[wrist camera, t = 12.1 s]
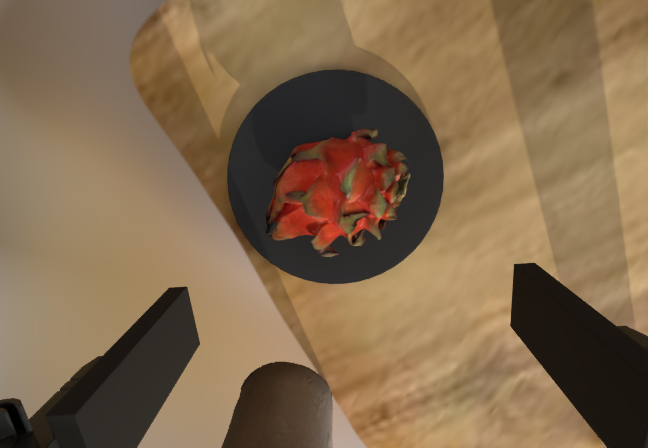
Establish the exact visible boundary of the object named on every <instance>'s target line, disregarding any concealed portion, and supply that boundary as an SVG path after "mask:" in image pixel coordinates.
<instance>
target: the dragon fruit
mask: <svg viewBox="0 0 648 448" xmlns="http://www.w3.org/2000/svg"><path fill="white" fill-rule="evenodd" d="M377 137H378V131H377V129H376V128H364V129H361V130H358V131H354V132H352V133H351V136H350V137H349V138H348V139H346V140H342V139H339V138H334V137H331V138H329V139H328V140H324V141H319V142H313V143H305V144H302V145H300V146H297V147H296V148H295V149H294V150H293V151H292V153H291V155H290V158H289V159H288V161H287V162H286V164H285V165H284V166H283V168H282V169H281V171H280V172H279V173H278V174H277V175H278V176H276V178H275V179H274V181H273V185H272V186H274V185H275V184H276V186H275V190H274V195H273V198H272V201H271V203H270V205H269V207H268V209H267V212H266V224H267V228H266V234H271V226H272V225H273V223H275V222H276V221H277V222H278V224H277V226H276V228H275V229H274V230H273V234H272V235H270V236H269V237H270V239H271V238H272V239H273V240H275V241H276V240H277V241H282V240H286V239H290V238H294V237H297V236H302V235H312V236H316V237H315V238H314V239H313V240H312V241H311V243H312V244H313V247H314V249H316V250H317V251H318V254H320V253H323V252H324V249H325V250H326V251H327V252H326V253H323V254H321V256H322V257H332V256H334V255H338V254H339V253H337V252H336V251H334V250H333V249H332V248H331V247H330V246H328V245H330V244H331V243H332V242H333V241H334V240H335V239H336V238H337V237H338V236H340V235H342V236H345V237H346V238H347V239H348V241H349V243H350V244H351V245H352V246H361V245H362V244H363V243H364V241H365V238H364V234H363V232H364V231H365V230H366V229H367V230H368V231H369V232H371V233H372V234H373V235H375V236H376V237H377V239H378V240H380V239H381V234H380V233H381V232H380V231H381V230H382V229H383V228H384V227H385V225H386V222H385V221H386V220H396V219H397V210H396V208H395V207H397V206H399V204H400V203H401V200H402V198H403V197H404V196H405V195H406V190H407V184H408V180H409V178H410V174H409V173H407V174H406V175H405V172H406V171H407V170H408V168H407V166H406V165H405V164H403V163H401V162H400V161H401V160H403V159H405V160H406V161H407V162H408V160H407V157H405V156H404V155H403V154H402V153H401V152H399V151H395V150H393V149H392V148H389V147H386V144H384V143H376V144H373V143H371V142H370V140H373V139H376V138H377ZM408 159H409V158H408ZM408 163H410V162H408ZM382 219H385V220H382ZM361 229H362V230H361ZM360 230H361V231H360ZM358 231H360V233H359V235H358V236H357V237H356V233H357V232H358ZM277 247H278V246H277ZM279 250H280V249H279Z"/></svg>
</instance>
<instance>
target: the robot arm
mask: <svg viewBox="0 0 648 448" xmlns="http://www.w3.org/2000/svg"><path fill="white" fill-rule="evenodd" d="M510 326H511V327H512V329H513V330H514V331H515V332H516V334H517V335H518V336H519V337H520V339H521V340H522V341H523V343H524V344H525V345H526V346H527V348H528V349H529V350H530V351H531V353H532V354H533V355H534V356H535V358H536V359H537V360H538V361H539V363H540V364H541V365H542V366H543V368H544V369H545V370H546V371H547V373H548V374H549V375H550V377H551V378H552V379H553V380H554V382H555V383H556V384H557V385H558V387H559V388H560V389H561V390H562V392H563V393H564V394H565V395H566V397H567V398H568V399H569V400H570V402H571V403H572V404H573V405H574V407H575V408H576V409H577V411H578V412H579V413H580V414H581V416H582V417H583V418H584V419H585V421H586V422H587V423H588V424H589V426H590V427H591V428H592V429H593V431H594V432H595V433H596V434H597V436H598V437H599V438H600V439H601V441H602V442H603V443H604V445H605V446H606V447H607V448H648V336H646V335H644V334H642V333H640V332H638V331H636V330H633V329H631V328H629V327H627V326H615V325H614V324H613V323H611V322H610V321H609V320H608V319H606V318H605V317H604V316H602V315H601V314H600V313H599V312H597V311H596V310H595V309H593V308H592V307H591V306H590V305H588V304H587V303H586V302H584V301H583V300H582V299H581V298H579V297H578V296H577V295H575V294H574V293H573V292H572V291H570V290H569V289H568V288H566V287H565V286H564V285H563V284H561V283H560V282H559V281H557V280H556V279H555V278H554V277H552V276H551V275H550V274H548V273H547V272H546V271H544V270H543V269H542V268H541V267H539V266H538V265H537V264H535V263H525V264H514V276H513V292H512V308H511V325H510ZM199 345H200V342H199V337H198V333H197V328H196V324H195V320H194V315H193V311H192V306H191V302H190V297H189V293H188V289H187V287H175V288H169V289H168V290H167V291H166V292H165V293H164V294H163V295H162V296H161V297H160V298H159V299H158V300H157V301H156V302H155V303H154V304H153V305H152V306H151V307H150V308H149V309H148V310H147V311H146V312H145V313H144V314H143V315H142V316H141V317H140V318H139V319H138V320H137V321H136V323H134V324H133V325H132V327H131V328H130V329H129V330H128V331H127V332H126V333H125V334H124V335H123V336H122V337H121V338H120V339H119V340H118V341H117V342H116V343H115V344H114V345H113V346H112V347H111V348H110V349H109V350H108V351H107V352H106V353H105V354H104V355H103V356H98V357H97V358H95V359H94V360H92V361H91V362H89V363H88V364H86V365H85V366H83V367H82V368H81V369H80V370H79V371H78V372H77V373H76V374H75V375H74V376H73V377H72V378H71V379H70V381H68V382H67V383H65V384H64V385H63V386H62V387H61V388H60V391H58V392H57V393H55V394H54V395H53V396H52V397H51V398H50V399H49V400H48V401H47V402H46V403H45V404H44V405H43V406H42V407H41V408H40V409H39V410H38V411H37V412H36V413H35V414H34V415H33V416H32V417H31V418H30V419H28V417H27V415H26V412H25V410H24V407H23V405H22V403H21V401H20V400H19V399H15V398H11V399H3V400H0V448H137V447H138V445H139V443H140V442H141V440H142V439H143V437H144V435H145V434H146V432H147V430H148V429H149V427H150V425H151V423H152V422H153V420H154V419H155V417H156V415H157V414H158V412H159V410H160V409H161V407H162V405H163V404H164V402H165V401H166V399H167V397H168V396H169V394H170V392H171V391H172V389H173V387H174V386H175V384H176V382H177V381H178V379H179V377H180V376H181V374H182V373H183V371H184V369H185V368H186V366H187V364H188V363H189V361H190V359H191V358H192V356H193V354H194V353H195V351H196V350H197V348H198V346H199Z"/></svg>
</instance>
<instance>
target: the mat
mask: <svg viewBox="0 0 648 448" xmlns="http://www.w3.org/2000/svg"><path fill="white" fill-rule="evenodd" d="M364 128H376V129H377V131H378V137H377V138H376V139H373V140H370V142H371V143H373V144H376V143H384V144H386V147H389V148H392V149H393V150H395V151H399V152H401V153H402V154H403V155H404V156H405V157H407V160H408V162H410V163H408V162H407V161H406V160H405V159H403V160H401V161H400V162H401V163H403V164H405V165H406V166H407V168H408V170H407V171H406V172H405V175H406V174H407V173H409V174H410V178H409V180H408V184H407V190H406V195H405V196H404V197H403V198H402V200H401V203H400V204H399V206H397V207H395V208H396V210H397V219H396V220H386V221H385V222H386V225H385V227H384V228H383V229H382V230H381V231H380V232H381V233H380V234H381V239H380V240H378V239H377V237H376V236H375V235H373V234H372V233H371V232H369V231H368V230H367V229H366V230H365V231H364V232H363V234H364V238H365V241H364V243H363V244H362V245H361V246H352V245H351V244H350V243H349V241H348V239H347V238H346V237H345V236H342V235H340V236H338V237H337V238H336V239H335V240H334V241H333V242H332V243H331V244H330V245H328V246H330V247H331V248H332V249H333V250H334V251H336V252H337V253H339V254H338V255H334V256H332V257H322V256H321V254H323V253H326V252H327V251H326V250H325V249H324V252H323V253H320V254H318V251H317V250H316V249H314V247H313V244H312V243H311V241H312V240H313V239H314V238H315V237H316V236H312V235H302V236H297V237H294V238H290V239H286V240H282V241H277V240H276V241H275V240H273V239H272V238H271V239H270V237H269V236H270V235H272V234H273V230H274V229H275V228H276V226H277V224H278V222H277V221H276V222H275V223H273V225H272V226H271V234H266V228H267V224H266V212H267V209H268V207H269V205H270V203H271V201H272V198H273V195H274V190H275V186H276V184H275V185H274V186H272V185H273V181H274V179H275V178H276V176H278V175H277V174H278V173H279V172H280V171H281V169H282V168H283V166H284V165H285V164H286V162H287V161H288V159H289V158H290V155H291V153H292V151H293V150H294V149H295V148H296V147H297V146H300V145H302V144H305V143H313V142H319V141H324V140H328V139H329V138H331V137H334V138H339V139H342V140H346V139H348V138H349V137H350V136H351V133H352V132H354V131H358V130H361V129H364ZM408 158H409V159H408ZM443 178H444V174H443V161H442V156H441V152H440V147H439V144H438V142H437V139H436V136H435V133H434V132H433V130H432V128H431V126H430V124H429V122H428V120H427V119H426V118H425V116H424V115H423V113H422V112H421V111H420V109H419V108H418V107H417V106H416V105H415V104H414V103H413V102H412V101H411V100H410V99H409V98H408V97H407V96H406V95H405V94H403V93H402V92H401V91H399V90H398V89H397V88H395V87H393V86H392V85H390V84H388V83H387V82H385V81H383V80H380V79H378V78H375V77H373V76H370V75H367V74H363V73H359V72H355V71H346V70H323V71H318V72H312V73H308V74H305V75H302V76H299V77H296V78H293V79H291V80H289V81H287V82H285V83H283V84H281V85H279V86H278V87H276V88H275V89H274V90H272V91H271V92H269V93H268V94H267V95H266V96H265V97H263V98H262V99H261V100H260V101H259V102H258V103H257V104H256V105H255V106H254V108H253V109H252V110H251V111H250V112H249V114H248V115H247V116H246V118H245V120H244V121H243V123H242V124H241V126H240V128H239V130H238V132H237V135H236V137H235V139H234V142H233V145H232V149H231V152H230V156H229V163H228V191H229V198H230V202H231V206H232V210H233V212H234V215H235V217H236V220H237V222H238V224H239V226H240V228H241V230H242V231H243V233H244V235H245V236H246V238H247V239H248V240H249V242H250V243H251V244H252V246H253V247H254V248H255V249H256V250H257V251H258V252H259V253H260V254H261V255H262V256H263V257H264V258H266V259H267V260H268V261H269V262H270V263H272V264H273V265H275V266H277V267H278V268H280V269H281V270H283V271H285V272H287V273H289V274H291V275H293V276H296V277H299V278H302V279H305V280H309V281H313V282H318V283H328V284H344V283H352V282H358V281H362V280H365V279H369V278H372V277H374V276H377V275H379V274H382V273H384V272H385V271H387V270H389V269H391V268H393V267H394V266H396V265H397V264H398V263H400V262H401V261H403V260H404V259H405V258H406V257H407V256H408V255H409V254H411V253H412V252H413V251H414V250H415V248H416V247H417V246H418V245H419V244H420V243H421V241H422V240H423V239H424V237H425V236H426V234H427V233H428V231H429V229H430V228H431V226H432V223H433V221H434V219H435V217H436V215H437V212H438V209H439V206H440V202H441V197H442V191H443ZM382 220H385V219H382ZM361 230H362V229H361ZM361 230H360V231H361ZM360 231H358V232H357V233H356V237H357V236H358V235H359V233H360ZM277 246H278V247H277ZM279 249H280V250H279Z"/></svg>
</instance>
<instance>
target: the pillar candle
mask: <svg viewBox="0 0 648 448" xmlns="http://www.w3.org/2000/svg"><path fill="white" fill-rule="evenodd" d="M332 412H333V404H332V394H331V392H330V390H329V386H328V385H327V383H326V382H325V380H324V379H323V378H322V377H321V376H320V375H319V374H317V373H316V372H315V371H313V370H311V369H310V368H308V367H305V366H302V365H298V364H294V363H289V362H274V363H269V364H266V365H263V366H262V367H259V368H258V369H256V370H255V371H254V372H252V373H251V374H250V375H249V376H248V377H247V378H246V380H245V381H244V383H243V385H242V387H241V393H240V397H239V400H238V402H237V404H236V407H235V409H234V413H233V416H232V420H231V423H230V425H229V429H228V432H227V435H226V437H225V440H224V443H223V445H222V448H332V447H333V446H332V423H333V421H332V420H333V417H332V414H333V413H332Z"/></svg>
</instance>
